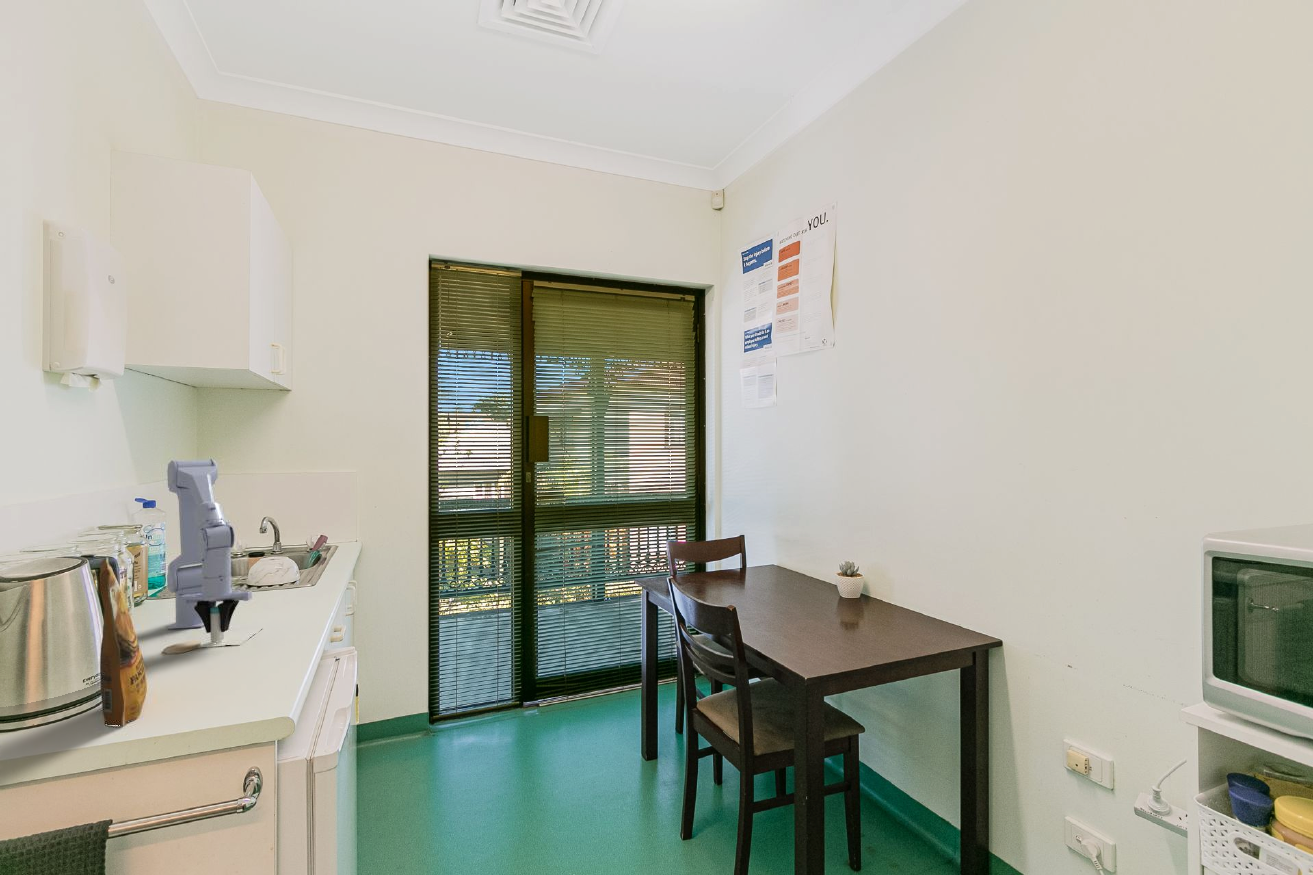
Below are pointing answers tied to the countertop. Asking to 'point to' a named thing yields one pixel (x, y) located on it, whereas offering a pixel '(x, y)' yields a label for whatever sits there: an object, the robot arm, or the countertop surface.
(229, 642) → the paper
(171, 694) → the countertop surface
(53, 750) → the countertop surface
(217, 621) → the marker
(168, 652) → the coaster
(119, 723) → the pancake mix bag
